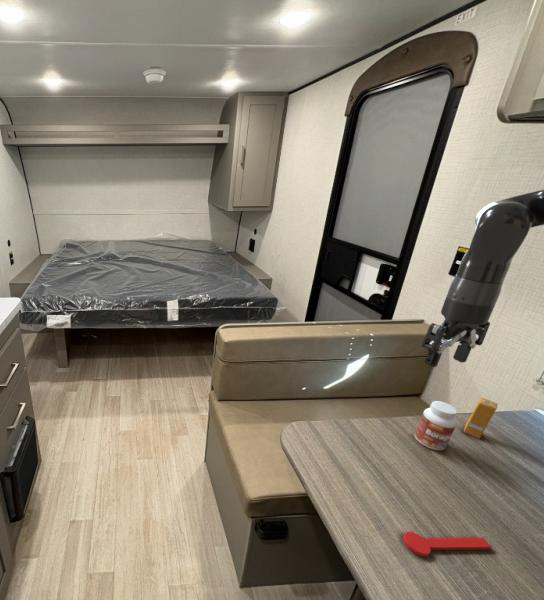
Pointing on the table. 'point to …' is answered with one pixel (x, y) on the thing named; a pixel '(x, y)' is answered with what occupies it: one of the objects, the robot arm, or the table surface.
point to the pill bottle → (436, 425)
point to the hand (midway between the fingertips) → (444, 362)
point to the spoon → (442, 544)
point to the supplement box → (480, 417)
